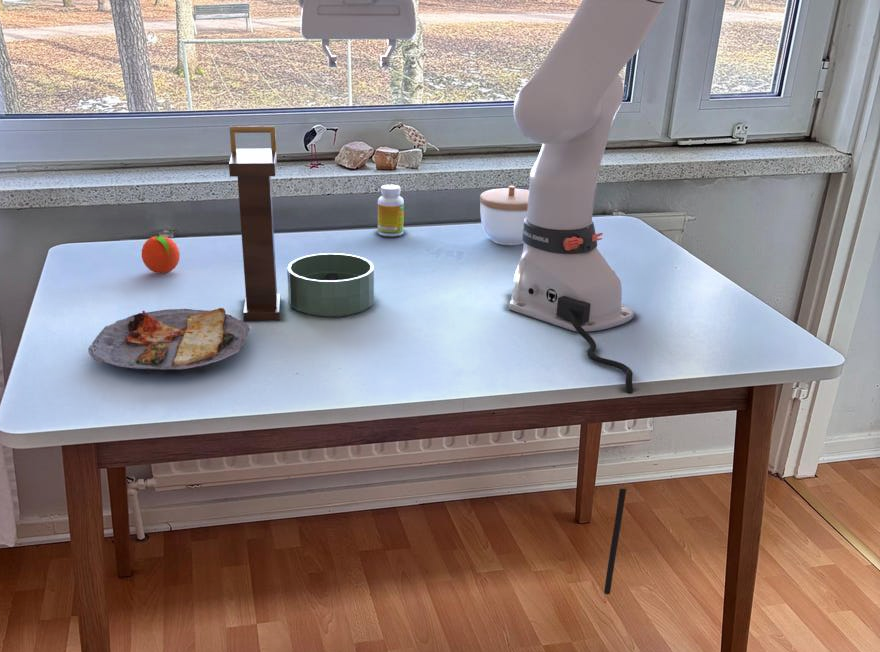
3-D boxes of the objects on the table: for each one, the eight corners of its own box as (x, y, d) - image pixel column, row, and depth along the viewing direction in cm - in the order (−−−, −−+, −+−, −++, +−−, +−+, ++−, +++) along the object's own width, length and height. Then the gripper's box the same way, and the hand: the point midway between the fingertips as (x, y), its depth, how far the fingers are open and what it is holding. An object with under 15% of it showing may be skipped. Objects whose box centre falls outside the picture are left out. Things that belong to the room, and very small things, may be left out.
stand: (243, 301, 175) (230, 123, 160) (284, 300, 176) (275, 123, 160) (239, 322, 167) (226, 137, 151) (283, 321, 167) (273, 137, 152)
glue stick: (324, 288, 180) (323, 273, 178) (339, 288, 180) (339, 273, 178) (325, 312, 170) (325, 296, 168) (341, 311, 170) (341, 296, 168)
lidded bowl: (474, 247, 203) (477, 192, 197) (480, 229, 213) (483, 177, 208) (537, 251, 201) (542, 196, 195) (540, 233, 212) (544, 180, 206)
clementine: (189, 276, 186) (186, 238, 182) (154, 283, 182) (150, 244, 179) (172, 264, 191) (168, 227, 188) (138, 270, 188) (133, 233, 184)
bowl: (390, 307, 173) (390, 271, 170) (316, 324, 166) (315, 287, 163) (345, 282, 184) (344, 248, 180) (274, 298, 176) (272, 262, 173)
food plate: (121, 318, 168) (118, 298, 166) (259, 321, 167) (257, 301, 165) (74, 381, 146) (70, 359, 144) (233, 385, 146) (231, 363, 144)
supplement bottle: (403, 237, 208) (403, 190, 203) (377, 237, 208) (377, 189, 203) (403, 229, 212) (404, 183, 207) (378, 229, 212) (378, 183, 207)
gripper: (297, -19, 168) (300, 69, 175) (418, -18, 169) (416, 69, 176) (297, -22, 173) (300, 63, 180) (414, -21, 175) (413, 64, 182)
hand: (358, 66), depth 178 cm, fingers open, 8 cm apart
